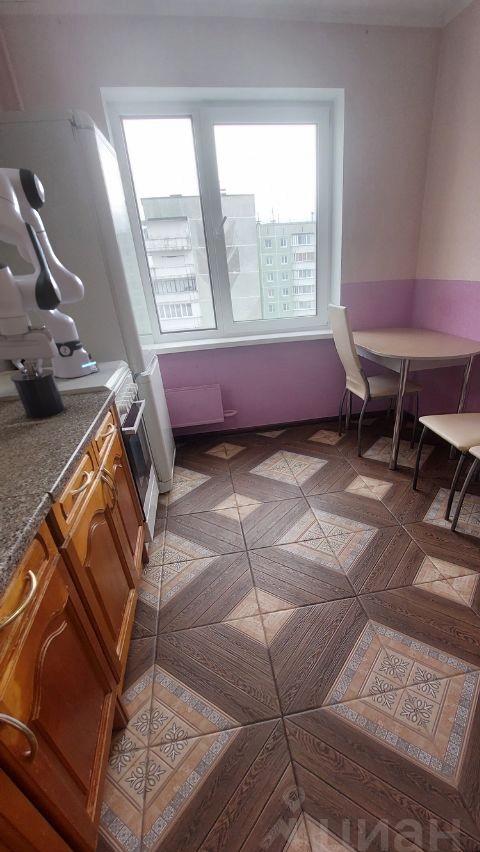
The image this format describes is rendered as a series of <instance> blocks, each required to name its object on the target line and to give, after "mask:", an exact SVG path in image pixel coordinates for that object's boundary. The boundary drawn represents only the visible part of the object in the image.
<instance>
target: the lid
mask: <svg viewBox="0 0 480 852" xmlns="http://www.w3.org/2000/svg"><path fill="white" fill-rule="evenodd" d="M33 363H34V361H32V360H26V361H23V363H22V364H23V366H24V367H25V368H26V371H27V373H26V374H21V373H20V372H19V373H15V374H13V375H12V376H10V381H11V382H13V383H14V382H31V381H37V380H41V379H45V378H48V377H50V376H52V375H53V374H54V369H53V370H52V369H47V368H42V371H43V372H42V373H35V371H34V365H33Z"/></svg>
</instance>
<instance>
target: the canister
mask: <svg viewBox="0 0 480 852" xmlns="http://www.w3.org/2000/svg"><path fill="white" fill-rule="evenodd" d="M55 378H56V377H54V375H52V376H50V377H48V378H45V379H41V380H37V381H31V382H13V384H14V386H15V389H16V391H17V395H18V396H19V399H20V402H21V404H22V406H23V409H24V413H25V414H26V416H27V417H28V418H29V419H45V418H46V419H47V418H49V417H54V416H56V415H59V414H61V413H62V412H64V411H65V409H66V408H65V405H64V402H63V399H62V397H61V394H60V393H61V392H60V390H59V388H58V387H59V386H58V384H57V381H56V379H55Z"/></svg>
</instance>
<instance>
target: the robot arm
mask: <svg viewBox="0 0 480 852" xmlns="http://www.w3.org/2000/svg"><path fill="white" fill-rule="evenodd" d="M45 200H46V199H45V190H44V187H43V184H42V182H41V180H40V179H39V178H38V176H37V174H36V173H35V172H34V171H33V170H31V169H27V168H12V167H11V168H10V167H0V241H1V242H3V243H6V244H8V245H9V244H10V245H13V246H15V247H16V248H17V251H18V254H19V255H20V257H21V258H22V259H23V260H24V261H25V262H27V263H29V264H31V265H33V268H34V273H32V274H24V275H23V274H22V275H21V274H20V275H14V274H13V273H12V271H11V269H10V267H9V265H7V264H5V263H0V361H5V360H10V361H11V362H12V364H13V365H14V366H15V367H16V368H17V369H18V370H19V373H21V374H26V373H27V371H26V368H25V365H24V364H23V363H21V362H22V360H33V363H34V362H35V363H36V367H35V368H34V371H35V373H42V372H43V371H42V369H43V368H42V365H43V362H44V361H43V360H44V359H45V360H49V359H50V361H51V364H52V368H53V371H54V374H53V375H54V378H56V377H57V378H61V379H71V378H79V377H84V376H87V375H90V374H93V373H96V372H98V370H99V369H98V368H97V366H96V364H97V362H96V361H92V359H93V358H92V356H91V353H88V352H87V351H86V350H85V349H84V348H83V343H82V340H81V338H80V337H79V334H78V331H77V327H76V323H75V321H74V320H73V318H72V317H71V316H69V315H68V314H65V313H62V312H60V311H59V310H58V309H57V308H58V307H59V306H60V305H68V304H69V305H70V304H73V303H77V302H81V301H82V300H83V299H84V296H85V286H84V284H83V282H82V281H81V279H80V278H79V277H78V276H77V275H76V274H74V273H72V272H71V271H69V270H68V269H67V268H66V267H64V265H63V264H62V263H61V262H60V261H59V259H58V258H57V257H56V255H55V253H54V250H53V248H52V246H51V243H50V241H49V237H48V234H47V232H46V230H45V226H44V223H43V221H42V219H41V215H40V214H39V212H40V209H41V208H43V206H44V204H45ZM28 311H33V312H34V313H35V314H36V315H37V316H38V317H39V319H40V320H41V321H42V323H43V325H38V326H37V325H35V326H34V325H32V321H31V319H30V316H29V314H28Z"/></svg>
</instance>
